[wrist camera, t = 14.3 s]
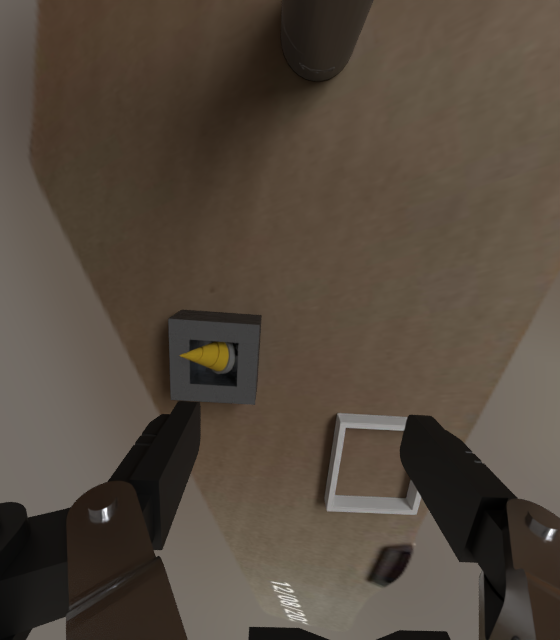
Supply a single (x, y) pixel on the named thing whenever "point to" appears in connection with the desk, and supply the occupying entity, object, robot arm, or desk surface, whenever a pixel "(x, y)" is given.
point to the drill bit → (214, 356)
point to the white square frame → (363, 502)
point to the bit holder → (201, 381)
